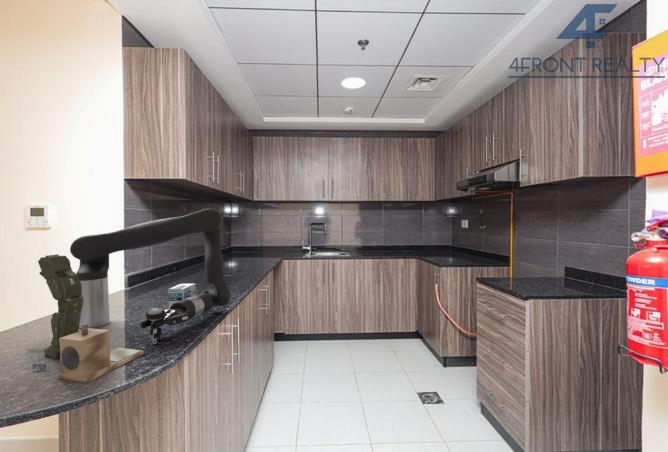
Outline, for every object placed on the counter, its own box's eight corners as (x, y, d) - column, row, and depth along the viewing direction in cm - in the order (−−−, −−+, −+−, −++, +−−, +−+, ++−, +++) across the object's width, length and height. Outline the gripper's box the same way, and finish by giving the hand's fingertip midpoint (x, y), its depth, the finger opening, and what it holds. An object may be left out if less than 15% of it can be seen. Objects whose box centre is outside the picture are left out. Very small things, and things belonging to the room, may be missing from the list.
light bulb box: (185, 315, 125) (184, 288, 125) (168, 315, 125) (167, 288, 125) (197, 307, 136) (196, 282, 136) (181, 308, 136) (180, 283, 136)
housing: (84, 383, 74) (82, 331, 74) (57, 378, 77) (55, 328, 76) (143, 354, 90) (141, 311, 89) (119, 351, 92) (117, 309, 92)
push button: (164, 344, 96) (163, 312, 96) (144, 347, 94) (143, 314, 94) (166, 336, 103) (165, 306, 102) (147, 339, 100) (146, 308, 100)
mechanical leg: (101, 349, 92) (79, 249, 93) (74, 360, 85) (51, 252, 86) (71, 354, 96) (51, 259, 98) (42, 365, 89) (21, 262, 91)
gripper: (171, 297, 114) (127, 312, 97) (204, 299, 110) (164, 315, 93) (171, 318, 114) (129, 335, 98) (204, 321, 110) (165, 340, 94)
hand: (146, 325), depth 96 cm, fingers closed on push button, 3 cm apart
